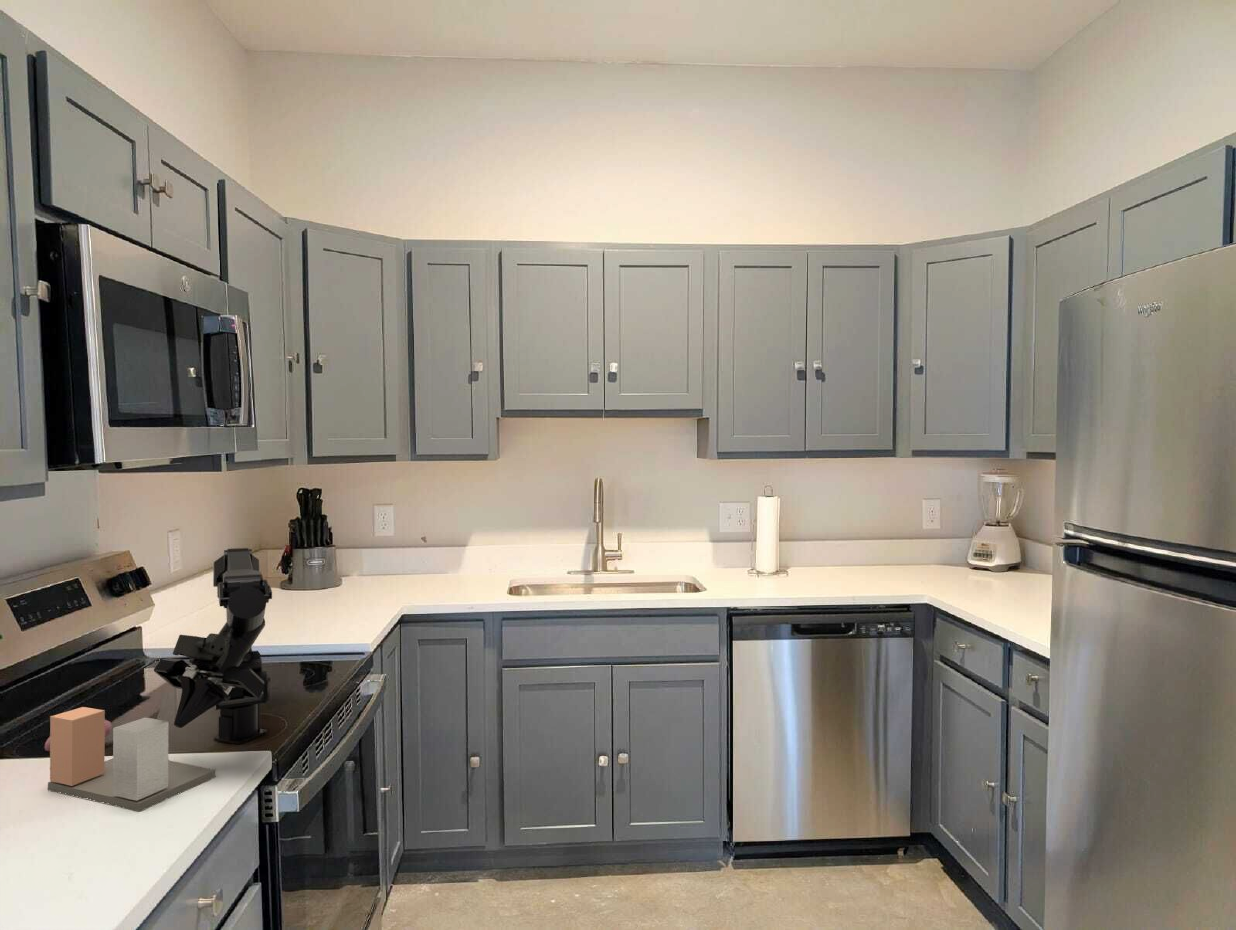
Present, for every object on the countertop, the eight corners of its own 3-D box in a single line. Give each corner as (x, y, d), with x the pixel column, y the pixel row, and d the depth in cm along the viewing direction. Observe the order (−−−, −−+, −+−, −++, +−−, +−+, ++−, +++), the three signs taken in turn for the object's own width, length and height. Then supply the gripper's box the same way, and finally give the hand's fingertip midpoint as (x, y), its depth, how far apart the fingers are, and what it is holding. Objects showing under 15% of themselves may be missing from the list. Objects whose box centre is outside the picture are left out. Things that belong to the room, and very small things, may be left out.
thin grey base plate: (128, 759, 128) (128, 752, 128) (215, 776, 121) (215, 769, 121) (47, 790, 116) (47, 782, 116) (139, 811, 109) (139, 803, 109)
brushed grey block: (144, 782, 116) (145, 717, 116) (168, 786, 114) (168, 721, 114) (113, 795, 111) (113, 727, 111) (136, 800, 109) (137, 732, 109)
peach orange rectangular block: (82, 768, 121) (83, 706, 121) (104, 773, 119) (104, 710, 119) (50, 780, 116) (50, 716, 116) (71, 785, 114) (72, 720, 114)
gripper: (164, 609, 126) (99, 694, 115) (251, 617, 120) (190, 708, 109) (203, 646, 133) (146, 728, 123) (287, 655, 127) (234, 743, 117)
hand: (177, 726), depth 118 cm, fingers closed
